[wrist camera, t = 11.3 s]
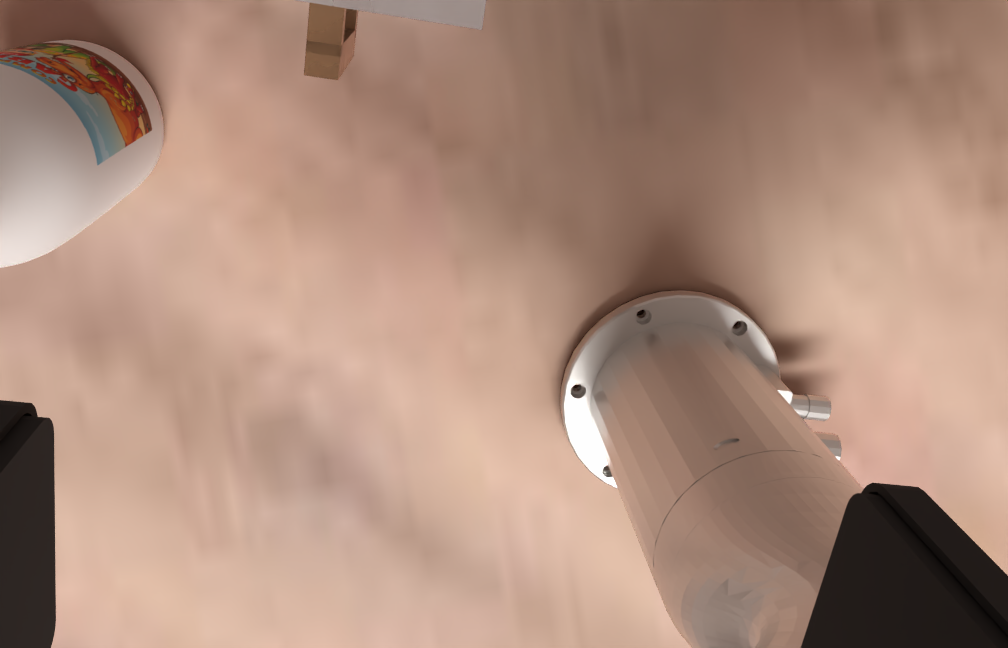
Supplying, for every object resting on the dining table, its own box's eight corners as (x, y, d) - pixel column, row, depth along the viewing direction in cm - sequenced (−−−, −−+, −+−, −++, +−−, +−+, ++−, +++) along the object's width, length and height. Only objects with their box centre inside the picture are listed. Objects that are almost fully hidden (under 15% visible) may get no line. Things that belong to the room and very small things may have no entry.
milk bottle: (190, 178, 47) (44, 316, 28) (40, 215, 47) (-205, 377, 28) (133, 20, 44) (-70, 57, 25) (-26, 59, 44) (-348, 126, 25)
